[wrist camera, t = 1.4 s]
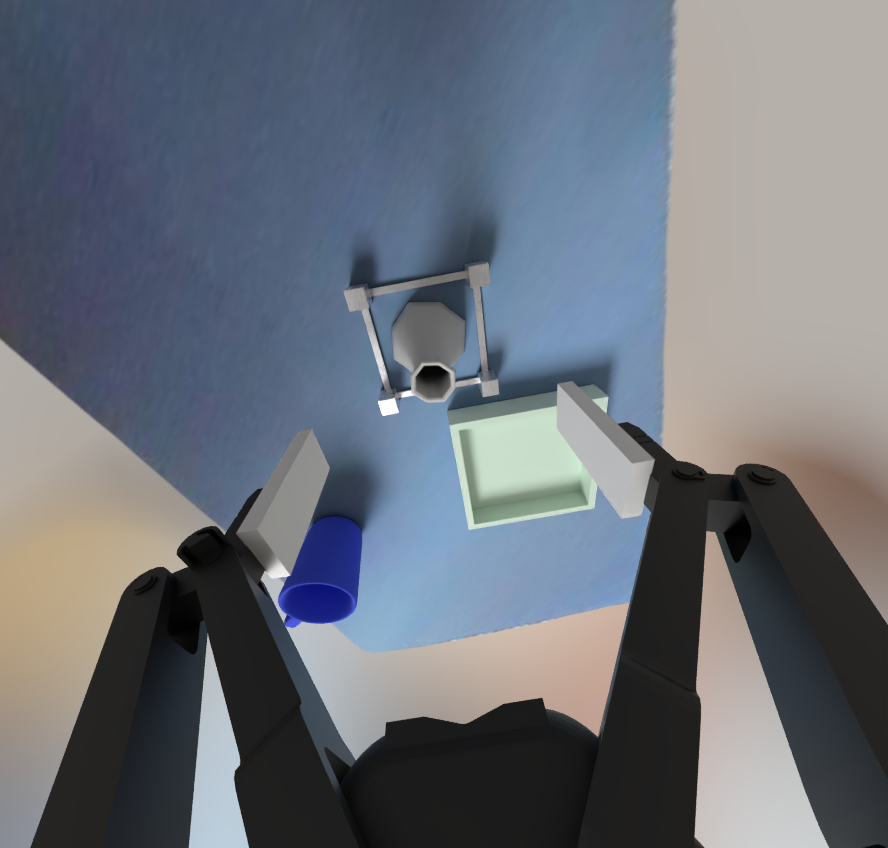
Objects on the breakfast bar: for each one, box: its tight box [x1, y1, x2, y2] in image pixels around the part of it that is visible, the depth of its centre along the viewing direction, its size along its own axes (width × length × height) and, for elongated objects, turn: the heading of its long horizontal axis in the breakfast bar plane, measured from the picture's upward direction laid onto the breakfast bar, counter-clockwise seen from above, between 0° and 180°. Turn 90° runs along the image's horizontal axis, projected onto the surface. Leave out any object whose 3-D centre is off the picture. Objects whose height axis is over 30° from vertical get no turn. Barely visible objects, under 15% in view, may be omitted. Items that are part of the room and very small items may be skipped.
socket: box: [343, 260, 499, 415], centre depth 29 cm, size 12×12×2 cm
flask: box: [391, 302, 465, 402], centre depth 26 cm, size 7×7×10 cm
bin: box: [447, 384, 608, 530], centre depth 37 cm, size 16×16×3 cm
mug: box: [278, 516, 362, 628], centre depth 39 cm, size 8×12×10 cm
